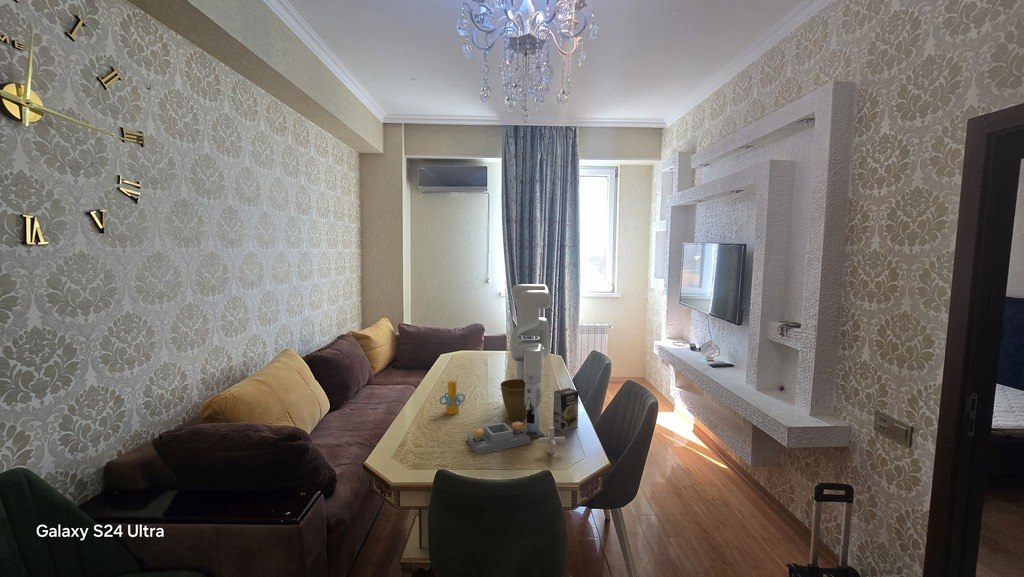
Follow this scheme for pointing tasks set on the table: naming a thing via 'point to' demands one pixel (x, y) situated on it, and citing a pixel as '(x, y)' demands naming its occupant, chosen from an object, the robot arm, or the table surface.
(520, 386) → the plant pot
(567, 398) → the coffee box
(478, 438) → the orange rounded knob
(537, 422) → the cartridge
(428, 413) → the table surface
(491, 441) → the housing
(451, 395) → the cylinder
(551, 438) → the pipe connector
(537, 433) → the mat
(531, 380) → the robot arm
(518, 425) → the light orange ball
